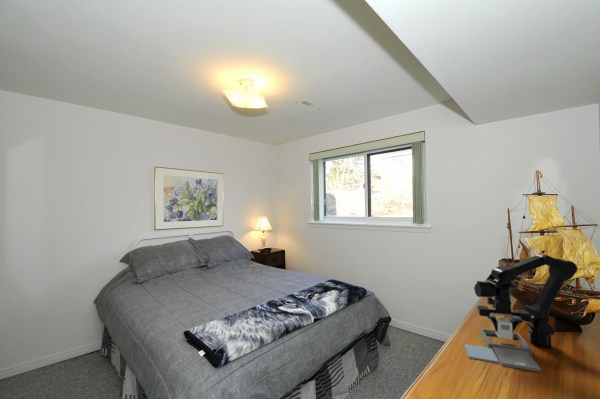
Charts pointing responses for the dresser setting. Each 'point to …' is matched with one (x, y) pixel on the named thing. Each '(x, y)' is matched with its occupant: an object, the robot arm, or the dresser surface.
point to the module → (504, 328)
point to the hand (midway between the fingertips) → (503, 332)
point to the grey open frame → (512, 352)
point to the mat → (481, 353)
